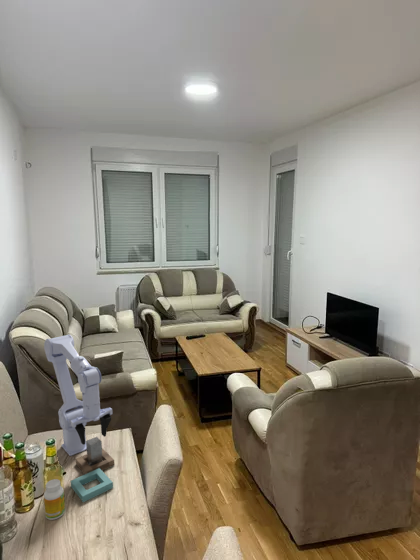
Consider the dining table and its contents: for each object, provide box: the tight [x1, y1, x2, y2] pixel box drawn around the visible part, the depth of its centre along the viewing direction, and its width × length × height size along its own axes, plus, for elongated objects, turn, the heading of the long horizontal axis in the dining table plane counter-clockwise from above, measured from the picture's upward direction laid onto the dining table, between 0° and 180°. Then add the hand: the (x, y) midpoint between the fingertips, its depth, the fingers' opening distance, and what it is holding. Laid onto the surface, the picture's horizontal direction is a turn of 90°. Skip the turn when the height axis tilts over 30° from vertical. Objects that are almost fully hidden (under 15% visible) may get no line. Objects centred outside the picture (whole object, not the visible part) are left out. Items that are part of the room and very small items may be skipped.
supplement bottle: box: [43, 478, 66, 521], centre depth 111 cm, size 5×5×10 cm
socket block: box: [75, 448, 115, 475], centre depth 135 cm, size 10×10×2 cm
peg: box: [86, 436, 103, 466], centre depth 135 cm, size 4×4×9 cm
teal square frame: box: [70, 468, 114, 503], centre depth 123 cm, size 10×10×2 cm
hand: (93, 439), depth 134 cm, fingers open, 7 cm apart
